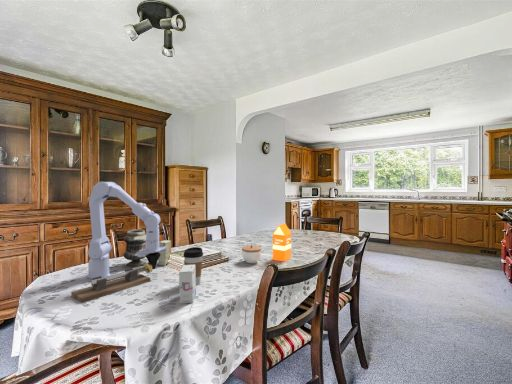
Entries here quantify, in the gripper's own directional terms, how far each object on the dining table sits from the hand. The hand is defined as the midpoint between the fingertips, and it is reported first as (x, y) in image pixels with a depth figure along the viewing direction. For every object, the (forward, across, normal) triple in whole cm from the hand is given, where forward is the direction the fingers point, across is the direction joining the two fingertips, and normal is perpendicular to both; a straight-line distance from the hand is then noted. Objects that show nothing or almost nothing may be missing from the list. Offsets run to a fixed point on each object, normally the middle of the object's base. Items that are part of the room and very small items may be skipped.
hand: (152, 268), depth 125 cm
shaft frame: (+3, -18, 0) cm, 18 cm away
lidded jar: (+4, +46, -22) cm, 52 cm away
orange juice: (+4, +62, -32) cm, 70 cm away
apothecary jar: (+4, +5, +23) cm, 24 cm away
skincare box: (+4, +15, +12) cm, 19 cm away
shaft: (+1, -14, 0) cm, 14 cm away
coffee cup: (+4, +6, -22) cm, 23 cm away
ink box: (+4, -6, -32) cm, 33 cm away
